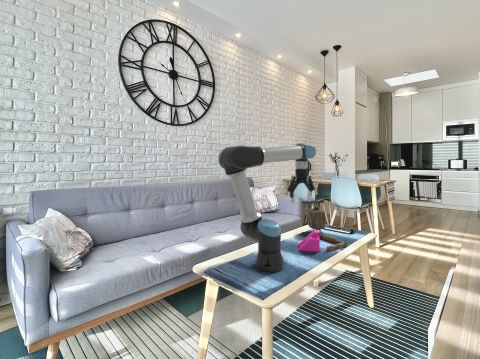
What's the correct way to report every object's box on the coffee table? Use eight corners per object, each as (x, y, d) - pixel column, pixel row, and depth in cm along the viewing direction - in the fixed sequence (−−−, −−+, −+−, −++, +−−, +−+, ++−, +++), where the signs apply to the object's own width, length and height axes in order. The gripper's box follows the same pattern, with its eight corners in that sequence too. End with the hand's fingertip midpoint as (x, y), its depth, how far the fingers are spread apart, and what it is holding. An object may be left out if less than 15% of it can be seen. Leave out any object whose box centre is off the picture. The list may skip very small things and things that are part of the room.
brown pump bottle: (324, 235, 179) (325, 201, 177) (312, 235, 180) (312, 201, 178) (318, 229, 194) (319, 198, 192) (307, 230, 194) (307, 198, 192)
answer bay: (328, 251, 149) (328, 246, 149) (303, 241, 168) (303, 236, 168) (346, 246, 156) (346, 241, 156) (321, 237, 175) (321, 232, 175)
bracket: (317, 246, 159) (317, 230, 158) (319, 252, 149) (319, 235, 148) (298, 245, 161) (298, 229, 160) (298, 250, 151) (298, 234, 150)
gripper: (289, 168, 146) (289, 204, 148) (320, 168, 158) (320, 201, 160) (281, 168, 153) (281, 202, 155) (312, 167, 165) (311, 199, 166)
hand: (301, 202), depth 157 cm, fingers open, 13 cm apart
